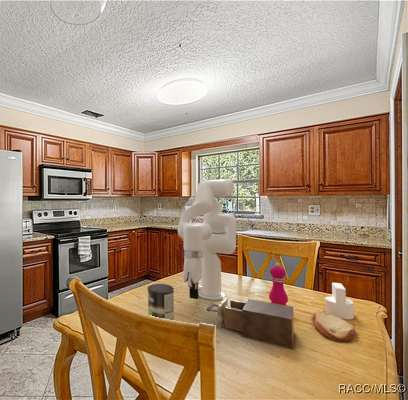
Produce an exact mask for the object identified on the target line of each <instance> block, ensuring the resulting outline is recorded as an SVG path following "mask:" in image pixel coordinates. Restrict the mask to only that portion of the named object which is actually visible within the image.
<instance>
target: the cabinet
mask: <svg viewBox="0 0 408 400" xmlns="http://www.w3.org/2000/svg"><path fill="white" fill-rule="evenodd" d="M286 305H287V304H286ZM286 305H281V304H275V303H271V302H268V301H262V300H258V299H257V300H256V299H251V298H247V300H246V304H245V306H244V308H243V309H242V317H243V331H242V337H243V338H247V339H252V340H255V341H259V342H263V343H268V344H272V345H275V346H280V347H283V348H287V349H291V350H293V348H294V338H295V337H294V336H295V323H294V321H295V319H294V306H291V305H287V306H286Z"/></svg>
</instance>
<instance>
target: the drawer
mask: <svg viewBox="0 0 408 400" xmlns="http://www.w3.org/2000/svg"><path fill="white" fill-rule="evenodd" d="M246 302H247V301H246ZM246 302H245V301H240V300H235V299H230V300H229V302H228V297H225V298H223V299H221V301H220V302H219V304H216V303H215V302H211V303H210V304H209V305H208V306H207V307H206V309H205V310H206V312H207V313H210V312H213V313H217V315H216V317H217V318H216V320H217V328H219V329H222V327H223V326H224V327H225V328H226V329H230V330H234V331H239V332H243V317H242V309H243V308H244V306H245V304H246ZM228 304H229V305H228ZM214 307H216V309H213V308H214ZM227 307H231V308H227ZM232 308H236V309H232ZM237 309H239V310H237Z"/></svg>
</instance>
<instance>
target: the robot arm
mask: <svg viewBox="0 0 408 400" xmlns="http://www.w3.org/2000/svg"><path fill="white" fill-rule="evenodd" d="M234 190H235V184H234V181H233V180H232V179H231V178H221V179H220V178H219V179H207V180H202V181H200V182H199V183H198V185H197V188H196V191H195V192H196V193H195V196H194V197H195V198H194V202H193V204H191V205H190V206H188V207H187V208H186V209H185V210H184V211H183V212H182V214H181V215H180V218H179V221H178V226H177V235H178V237H179V238H180V239H183V242H182V243H183V258H184V259H183V274H182V275H183V277H182V279H183V280H182V281H183V282H184V283H187V287H188V289H189V290H188V291H189V299H193V300H198V299H200V298H202V299H204V300H205V299H206V300H210V301H219V300H223V299H224V298H226V295H225V293H224V292H222V263H221V259H220V258H219V256H218V254H225V255H231V254H234V253H235V252H236V248H237V227H238V226H237V218H236V216H235V215H233V214H232V213H222V204H221V202H220V201H219V200H218V199H217V198H226V197H227V198H228V197H231V196H232V195H233V193H234ZM200 216H203V218H202V219H203V220H202V222H194V221H193V222H190V221H192V220H193V219H196V218H198V217H200ZM199 283H201V284H199ZM199 297H200V298H199Z"/></svg>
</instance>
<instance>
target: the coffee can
mask: <svg viewBox="0 0 408 400" xmlns="http://www.w3.org/2000/svg"><path fill="white" fill-rule="evenodd" d="M174 291H175V288H174V287H173V286H171V285H169V284H164V283H154V284H150V285H148V286H147V303H148V304H147V306H148V311H147V312H148V316H149V315H152V316H155V317H159V318H165V319H170V320H174V321H175V304H174V302H175V301H174V299H175V298H174V297H175V296H174V294H175V293H174Z"/></svg>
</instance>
